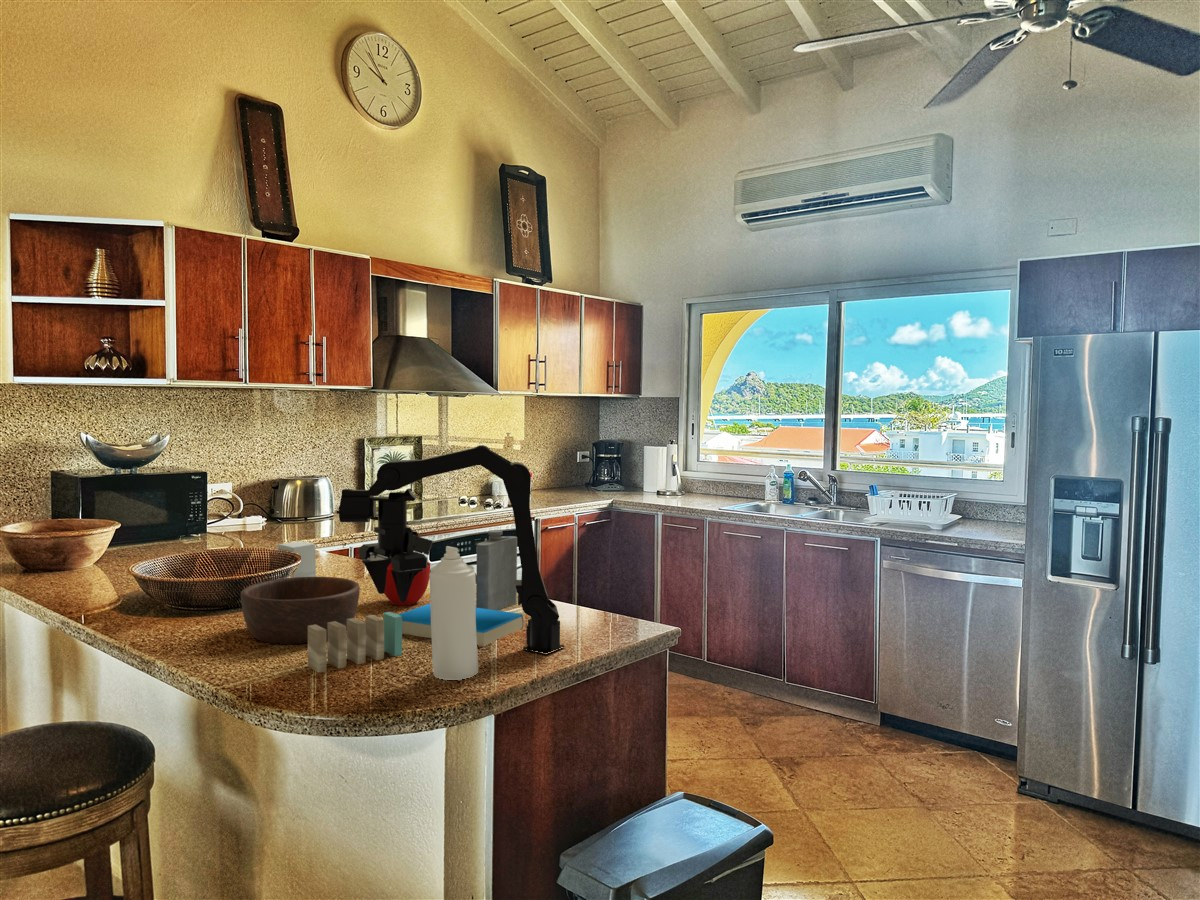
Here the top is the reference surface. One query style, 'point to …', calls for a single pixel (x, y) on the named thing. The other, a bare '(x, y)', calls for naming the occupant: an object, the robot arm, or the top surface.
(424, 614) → the book
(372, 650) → the domino
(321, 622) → the wooden bowl
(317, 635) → the domino
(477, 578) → the hip flask
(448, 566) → the spray can
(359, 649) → the domino
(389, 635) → the teal domino
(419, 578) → the ceramic cup
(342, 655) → the domino
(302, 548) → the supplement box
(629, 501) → the top surface
